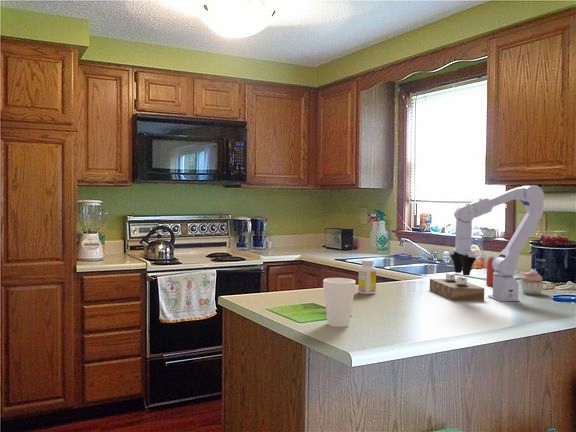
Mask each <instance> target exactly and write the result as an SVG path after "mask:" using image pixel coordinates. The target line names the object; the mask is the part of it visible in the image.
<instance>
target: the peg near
mask: <svg viewBox="0 0 576 432" xmlns="http://www.w3.org/2000/svg"><path fill="white" fill-rule="evenodd" d="M456 279H457V286H459V287H467V282H468V277H466V276H465V277H464V276H456Z"/></svg>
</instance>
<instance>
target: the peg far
mask: <svg viewBox="0 0 576 432" xmlns="http://www.w3.org/2000/svg"><path fill="white" fill-rule="evenodd" d="M445 279H446V282H455V279H456V273H451V272H446V273H445Z"/></svg>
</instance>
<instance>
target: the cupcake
mask: <svg viewBox="0 0 576 432" xmlns="http://www.w3.org/2000/svg"><path fill="white" fill-rule="evenodd" d="M519 283H520V284H521V290H522V292H523V294H525V295H530V296H536V295H537V296H538V295H541V293H542V289H543V287H544V285H545V281H543V277H542V276H541V275H540V274H539V273H538V271H537V270H536V269H533V268H531V269H530V271H528V272H525V273H524V274H523V275H522V276H521V280H519Z"/></svg>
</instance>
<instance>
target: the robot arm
mask: <svg viewBox="0 0 576 432" xmlns="http://www.w3.org/2000/svg"><path fill="white" fill-rule="evenodd" d="M545 197H546V196H545V193H544V191H543V189H542V187H540V186H539V185H537V184H532V185H526V184H525V185H522V186H519V187H514V188H512V189H510V190H507V191H505V192H503V193H500V194H498V195H495V196H494V197H491V198H487V197H479V198H477V200H475V201H473V202H467V203H466V204H465V205H464V206H459V207H457V208H456V209H455V212H454V214H453V215H454V218H455V219H456V221H455V222H456V223H455V241H454V242H455V243H454V244H455V246H454V247H452V248H451V254H449V256H450V258H451V260H452V263H453V267H454V272H455V273H454V274H460V273H462V275H463V276H470V274H471V271H472V268H473V265H474V263H475V261H476V260H477V257H475V255H476V254H475V253H476V252H475V251H473V250H472V229H473V228H472V227H473V226H472V224H473V223H472V222H473V220H474V219H476V218H479V217H481V216H482V215H486V214H488V213H491V212H492V210H493V208H494V207H496V206H500V205H502V204H505V203H507V202H510V201H513V200H517V201H518V200H519V201H520V202H521V203H522V205H523V207H524V209H525V212H526V213H525V215H524V217H523V218H522V220H521V221H520V223H519V224H518V226H517V228H516V229H515V232H514V233H513V235H512V237H511V238H510V240H509V242H508V243H507V245H506V247H505V248H504V249H502V251H500V252H499V254H498V255H497V256H495V258H494V259H493V261H492V268H493V269H494V270H495V271H494V273H493V274H494V275H493V287H492V294H487V297H488V298H492V299H494V300H497V301H499V302H521V300H520V299H519V282H518V280H517V279H516V278H515V275H514V274H515V273H516V270H517V264H518V262H519V260H520V259H519V256H520V253H521V251H522V250H523V248H524V247H525V245H526V243H527V242H528V239H529V238H530V236H532V233H533V232H534V230H535V229H536V226H537V225H538V224H539V222H540V220H541V218H542V216H543V214H544V200H545Z"/></svg>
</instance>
